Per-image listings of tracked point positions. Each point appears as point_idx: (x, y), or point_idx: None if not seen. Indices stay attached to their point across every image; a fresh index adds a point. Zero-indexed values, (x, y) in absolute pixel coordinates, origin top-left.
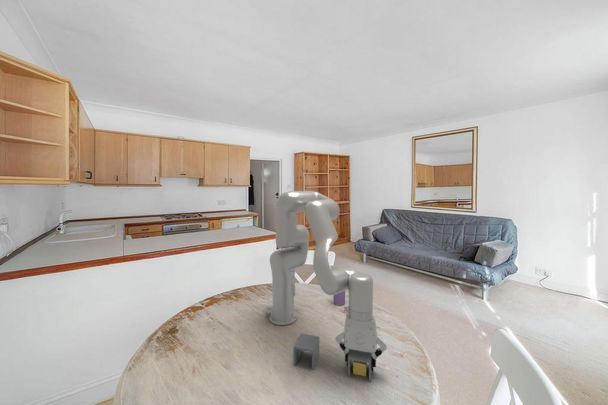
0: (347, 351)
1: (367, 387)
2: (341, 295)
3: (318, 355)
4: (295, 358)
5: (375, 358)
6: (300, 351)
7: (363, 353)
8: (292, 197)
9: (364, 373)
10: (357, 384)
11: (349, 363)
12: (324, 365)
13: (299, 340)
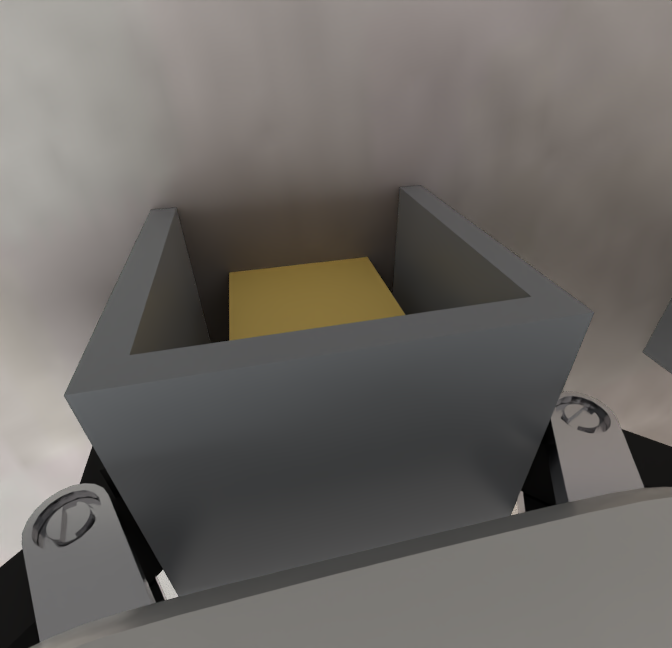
0: (566, 433)
1: (164, 99)
2: None
3: (667, 330)
4: None
5: (67, 505)
6: None
7: (297, 506)
8: None
9: (248, 286)
10: (300, 108)
11: (492, 260)
12: (631, 252)
13: None
